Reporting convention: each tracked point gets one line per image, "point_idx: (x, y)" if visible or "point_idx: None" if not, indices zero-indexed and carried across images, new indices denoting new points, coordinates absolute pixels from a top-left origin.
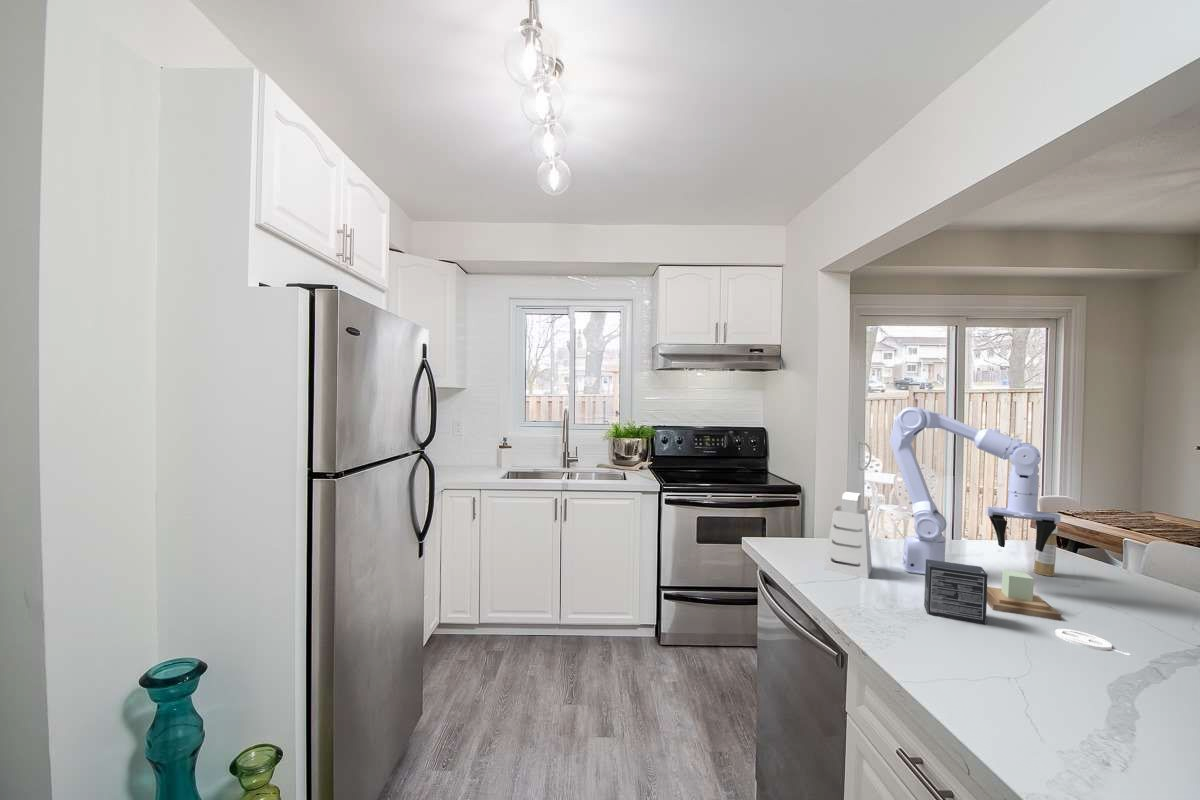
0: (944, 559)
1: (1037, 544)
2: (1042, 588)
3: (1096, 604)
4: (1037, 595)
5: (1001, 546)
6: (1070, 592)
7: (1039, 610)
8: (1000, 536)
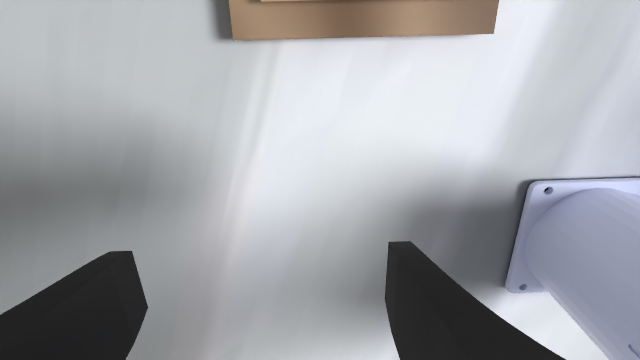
0: (576, 258)
1: (119, 328)
2: (183, 237)
3: (11, 124)
4: (235, 39)
5: (411, 243)
6: (91, 239)
7: None
8: (468, 294)
